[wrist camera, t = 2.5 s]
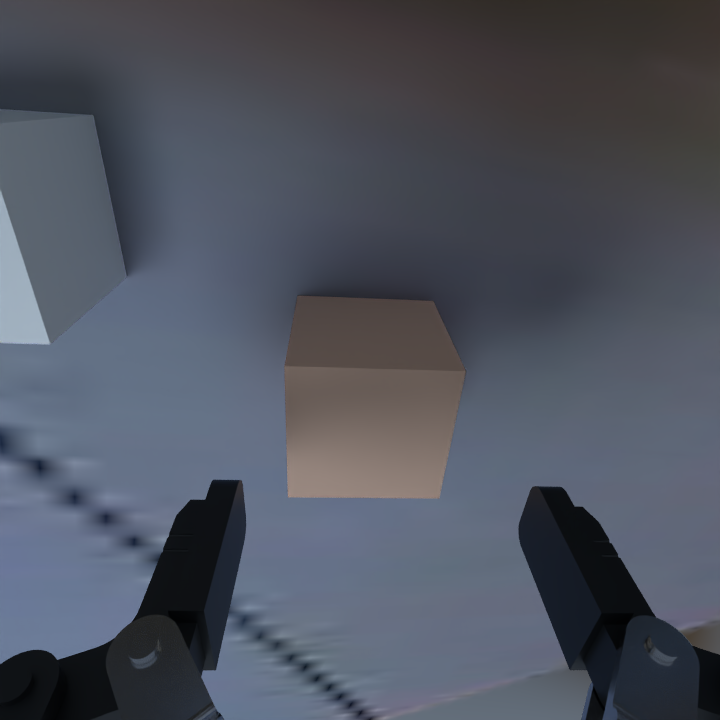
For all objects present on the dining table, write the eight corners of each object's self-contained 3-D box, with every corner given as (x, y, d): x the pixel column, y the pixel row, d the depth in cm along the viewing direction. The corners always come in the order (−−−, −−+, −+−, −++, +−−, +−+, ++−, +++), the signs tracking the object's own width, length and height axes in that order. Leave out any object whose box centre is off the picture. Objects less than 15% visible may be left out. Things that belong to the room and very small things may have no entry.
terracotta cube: (298, 405, 21) (287, 497, 16) (297, 294, 18) (284, 366, 13) (416, 408, 21) (439, 498, 17) (432, 300, 19) (466, 371, 14)
